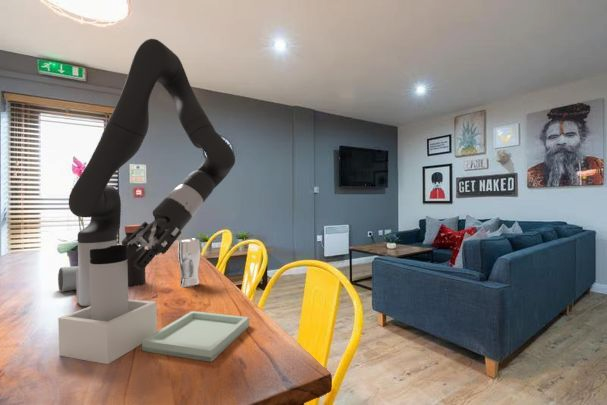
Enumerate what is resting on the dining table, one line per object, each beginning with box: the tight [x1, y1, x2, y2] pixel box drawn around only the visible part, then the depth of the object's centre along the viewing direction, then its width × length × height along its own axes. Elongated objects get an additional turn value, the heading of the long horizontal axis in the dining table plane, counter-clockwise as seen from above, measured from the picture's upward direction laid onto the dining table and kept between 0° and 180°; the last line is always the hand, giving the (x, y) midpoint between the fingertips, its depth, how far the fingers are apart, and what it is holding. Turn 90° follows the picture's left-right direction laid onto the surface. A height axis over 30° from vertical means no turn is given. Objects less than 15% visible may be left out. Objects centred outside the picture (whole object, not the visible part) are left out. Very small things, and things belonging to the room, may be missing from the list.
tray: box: [141, 310, 250, 363], centre depth 61 cm, size 15×15×2 cm
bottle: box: [121, 224, 147, 288], centre depth 100 cm, size 7×7×20 cm
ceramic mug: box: [57, 265, 78, 293], centre depth 97 cm, size 11×8×8 cm
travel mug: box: [90, 244, 129, 322], centre depth 59 cm, size 6×7×20 cm
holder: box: [57, 298, 158, 365], centre depth 59 cm, size 12×12×7 cm
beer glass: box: [177, 238, 201, 288], centre depth 99 cm, size 7×7×15 cm
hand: (128, 264), depth 61 cm, fingers open, 8 cm apart
